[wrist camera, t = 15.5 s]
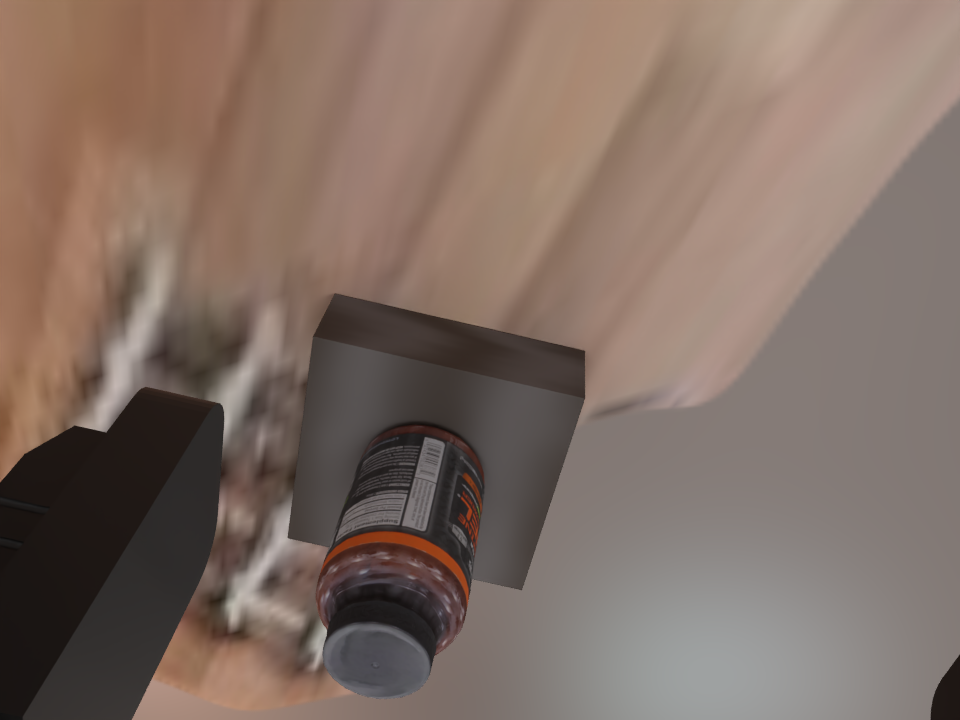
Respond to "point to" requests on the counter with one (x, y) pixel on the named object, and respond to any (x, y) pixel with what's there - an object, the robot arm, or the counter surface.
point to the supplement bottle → (400, 561)
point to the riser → (438, 418)
